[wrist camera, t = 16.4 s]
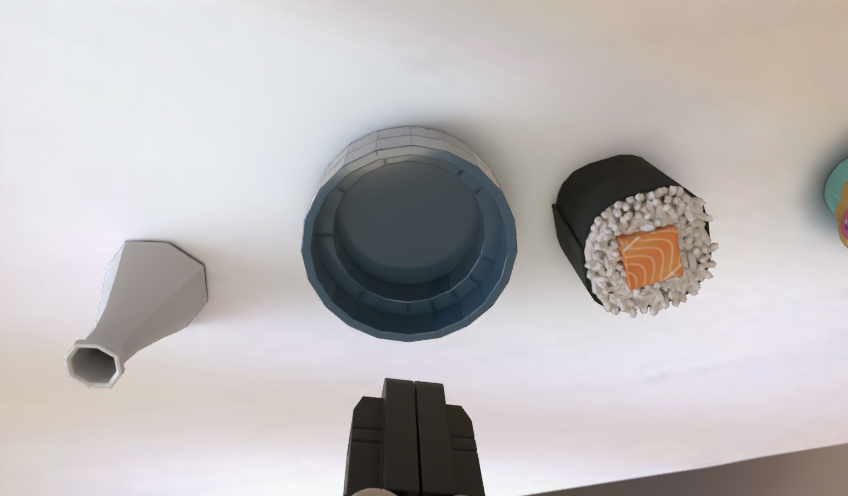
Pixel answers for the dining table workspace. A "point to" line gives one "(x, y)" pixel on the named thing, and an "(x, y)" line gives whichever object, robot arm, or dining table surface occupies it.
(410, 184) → the bowl
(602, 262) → the sushi
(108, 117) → the dining table surface
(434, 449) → the robot arm
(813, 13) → the dining table surface
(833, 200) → the cupcake
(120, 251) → the flask
